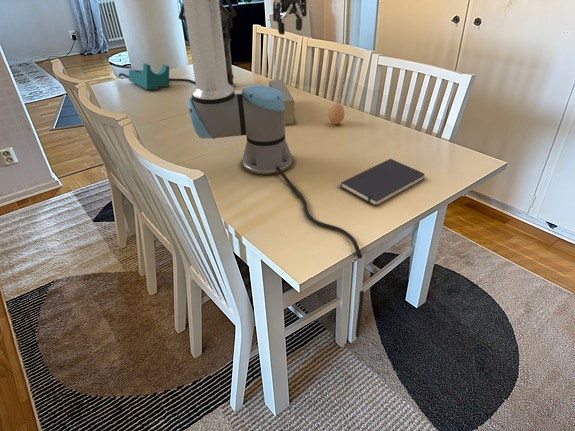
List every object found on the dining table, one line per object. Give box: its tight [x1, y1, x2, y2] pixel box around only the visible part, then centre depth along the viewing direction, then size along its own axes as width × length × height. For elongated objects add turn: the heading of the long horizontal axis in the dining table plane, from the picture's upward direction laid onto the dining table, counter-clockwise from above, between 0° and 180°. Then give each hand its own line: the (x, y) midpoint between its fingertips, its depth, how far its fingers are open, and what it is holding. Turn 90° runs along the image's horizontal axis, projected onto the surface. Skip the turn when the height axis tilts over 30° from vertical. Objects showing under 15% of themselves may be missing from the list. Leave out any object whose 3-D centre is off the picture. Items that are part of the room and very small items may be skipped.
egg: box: [327, 102, 345, 125], centre depth 147 cm, size 6×6×8 cm
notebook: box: [340, 158, 425, 206], centre depth 114 cm, size 13×2×21 cm
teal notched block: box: [128, 63, 170, 90], centre depth 189 cm, size 18×11×10 cm, turn 43°
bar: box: [268, 79, 295, 126], centre depth 157 cm, size 25×6×9 cm, turn 10°
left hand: (290, 32), depth 146 cm, fingers open, 8 cm apart
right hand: (211, 39), depth 147 cm, fingers open, 13 cm apart
